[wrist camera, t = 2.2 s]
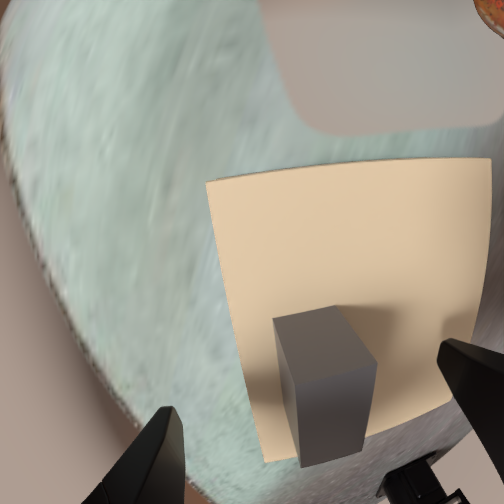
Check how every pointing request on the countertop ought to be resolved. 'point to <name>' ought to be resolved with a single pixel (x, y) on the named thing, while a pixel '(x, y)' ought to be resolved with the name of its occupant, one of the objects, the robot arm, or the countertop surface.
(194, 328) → the countertop surface
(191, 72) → the countertop surface
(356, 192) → the carton lid
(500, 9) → the tin
